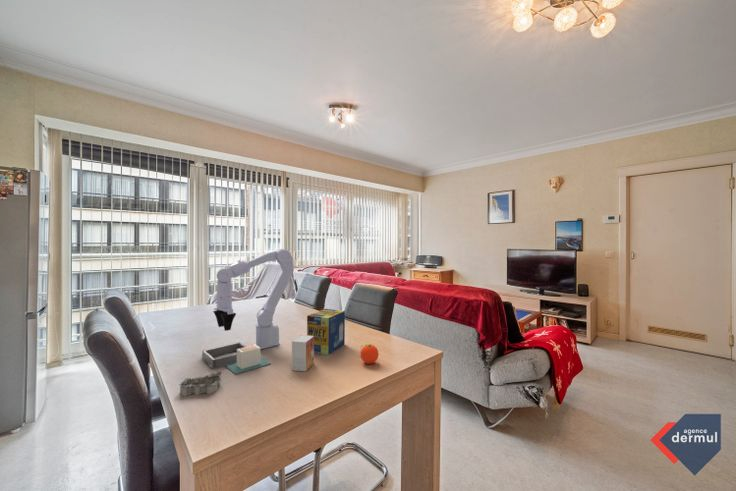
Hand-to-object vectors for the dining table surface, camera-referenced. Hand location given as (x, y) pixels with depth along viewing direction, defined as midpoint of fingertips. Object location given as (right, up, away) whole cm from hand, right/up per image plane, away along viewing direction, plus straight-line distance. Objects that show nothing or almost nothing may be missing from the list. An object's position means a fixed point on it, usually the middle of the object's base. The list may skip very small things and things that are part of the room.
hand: (224, 328), depth 125 cm
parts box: (+17, -9, -16) cm, 25 cm away
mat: (+17, -9, -16) cm, 25 cm away
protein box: (+43, -10, +3) cm, 44 cm away
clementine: (+61, -10, -13) cm, 63 cm away
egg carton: (+9, -10, -34) cm, 37 cm away
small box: (+37, -10, -17) cm, 42 cm away
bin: (+6, -9, -9) cm, 14 cm away
